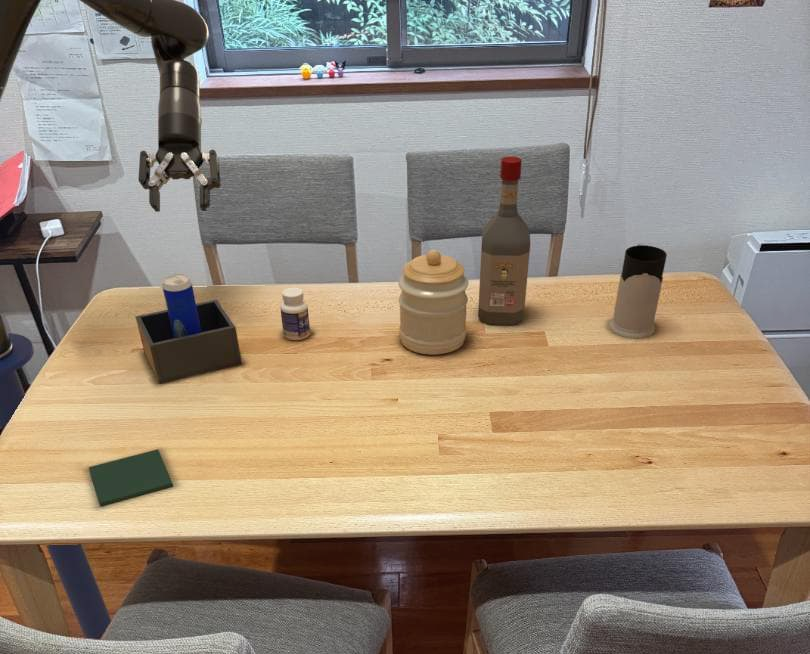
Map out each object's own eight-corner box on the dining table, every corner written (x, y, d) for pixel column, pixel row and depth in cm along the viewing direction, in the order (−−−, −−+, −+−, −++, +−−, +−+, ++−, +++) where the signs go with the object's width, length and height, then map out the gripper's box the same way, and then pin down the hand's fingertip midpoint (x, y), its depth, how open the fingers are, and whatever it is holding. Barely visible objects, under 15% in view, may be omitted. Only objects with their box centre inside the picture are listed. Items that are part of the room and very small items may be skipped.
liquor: (523, 326, 161) (537, 168, 141) (477, 325, 162) (485, 167, 142) (522, 305, 168) (536, 152, 148) (478, 304, 169) (486, 151, 148)
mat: (100, 506, 121) (99, 503, 120) (89, 470, 128) (88, 467, 127) (173, 486, 124) (172, 483, 124) (158, 451, 131) (158, 448, 131)
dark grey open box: (158, 383, 147) (149, 345, 142) (144, 352, 155) (135, 316, 150) (241, 364, 152) (235, 326, 146) (223, 335, 160) (216, 299, 155)
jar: (475, 330, 160) (479, 242, 148) (452, 361, 151) (455, 270, 139) (414, 319, 164) (413, 232, 152) (389, 349, 155) (386, 259, 143)
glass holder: (610, 336, 157) (623, 261, 147) (606, 304, 168) (618, 232, 158) (656, 339, 156) (672, 263, 146) (649, 306, 167) (664, 233, 157)
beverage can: (172, 356, 153) (155, 280, 143) (195, 346, 156) (179, 271, 146) (188, 365, 150) (172, 288, 140) (211, 354, 153) (196, 279, 143)
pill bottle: (305, 342, 158) (300, 299, 152) (279, 339, 158) (274, 296, 153) (314, 329, 161) (309, 287, 155) (289, 327, 162) (284, 284, 156)
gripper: (133, 111, 143) (133, 200, 142) (213, 109, 143) (214, 199, 142) (147, 134, 151) (147, 219, 150) (223, 133, 151) (223, 218, 150)
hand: (179, 209), depth 146 cm, fingers open, 8 cm apart
